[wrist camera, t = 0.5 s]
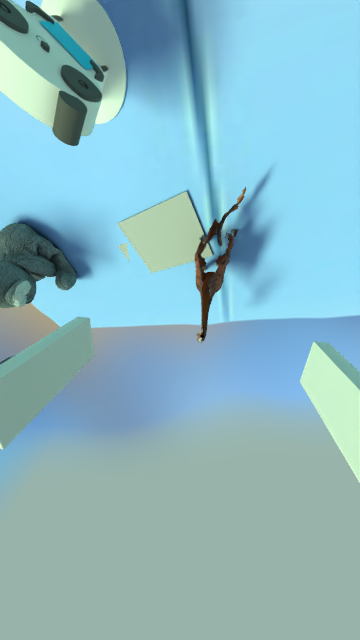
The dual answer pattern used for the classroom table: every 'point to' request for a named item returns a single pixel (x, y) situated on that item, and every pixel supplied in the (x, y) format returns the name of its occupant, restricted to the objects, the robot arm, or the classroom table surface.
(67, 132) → the panda figurine
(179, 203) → the paper stack
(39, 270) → the koala plush
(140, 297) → the classroom table surface
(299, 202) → the classroom table surface
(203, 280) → the toy dinosaur
